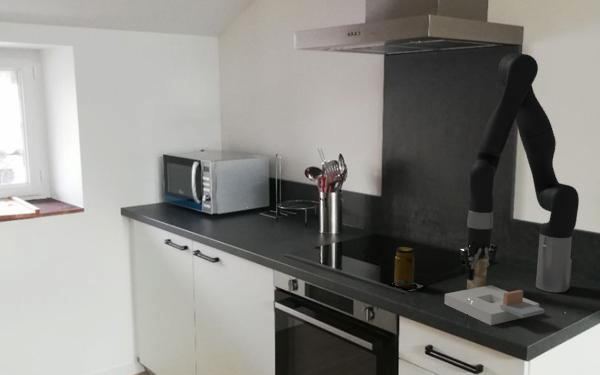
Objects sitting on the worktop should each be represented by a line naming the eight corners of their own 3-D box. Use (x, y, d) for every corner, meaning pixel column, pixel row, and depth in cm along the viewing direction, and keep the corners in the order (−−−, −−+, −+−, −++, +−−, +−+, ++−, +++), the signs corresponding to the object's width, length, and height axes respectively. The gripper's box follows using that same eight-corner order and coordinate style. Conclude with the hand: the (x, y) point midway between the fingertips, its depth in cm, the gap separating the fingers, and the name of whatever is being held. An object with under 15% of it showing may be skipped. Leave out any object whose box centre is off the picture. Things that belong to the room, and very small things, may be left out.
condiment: (401, 280, 195) (402, 244, 193) (423, 286, 189) (425, 249, 187) (388, 285, 189) (389, 248, 188) (411, 292, 184) (412, 254, 182)
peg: (476, 286, 190) (478, 255, 188) (485, 289, 186) (487, 258, 185) (466, 288, 188) (468, 257, 186) (475, 291, 184) (477, 260, 183)
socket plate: (490, 294, 182) (490, 285, 181) (538, 314, 166) (539, 303, 166) (444, 303, 173) (444, 293, 173) (490, 325, 158) (491, 314, 157)
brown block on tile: (521, 303, 165) (522, 289, 164) (544, 312, 158) (545, 297, 157) (500, 308, 161) (501, 293, 160) (522, 317, 154) (523, 302, 154)
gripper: (470, 230, 177) (467, 285, 180) (506, 225, 184) (502, 279, 186) (453, 225, 184) (450, 278, 186) (488, 220, 190) (484, 272, 193)
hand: (476, 278), depth 186 cm, fingers open, 5 cm apart
